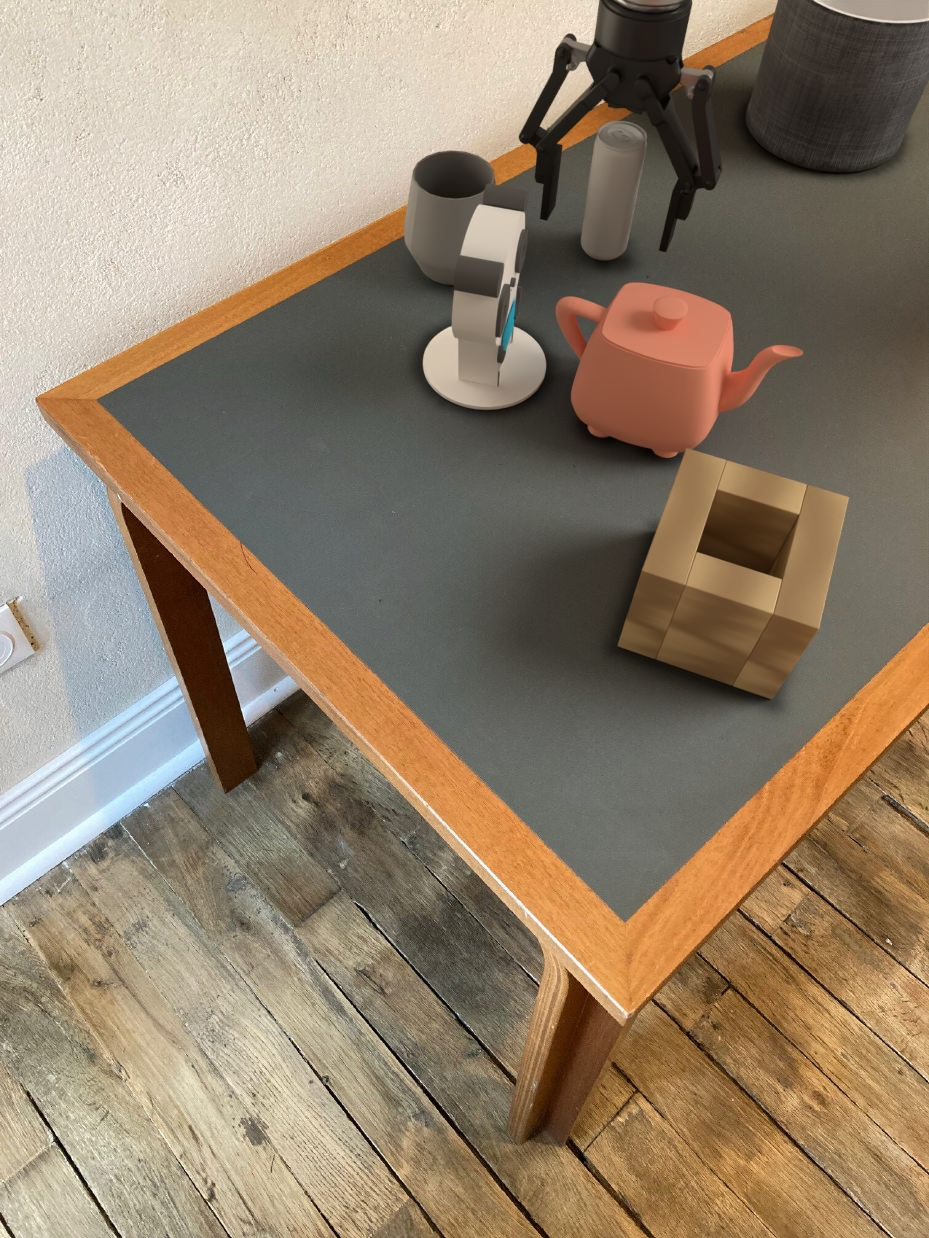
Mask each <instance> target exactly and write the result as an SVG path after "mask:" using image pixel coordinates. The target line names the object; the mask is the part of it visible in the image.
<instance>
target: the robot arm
mask: <svg viewBox="0 0 929 1238" xmlns="http://www.w3.org/2000/svg"><path fill="white" fill-rule="evenodd" d="M692 8H693V0H598V6H597V14H596V21H595V29H594V35H593V40H592V43H591V44H587V43H583V42H580V41H578V40H577V37H576V35H575V34H573V33H571V32H570V33H566V34H565V36H564V37H562V39H561V41H560V43H559V45H558V46H557V47H556V49H555V51H554V56H553V57H554V58H553V66H552V71H551V73H550V75H549V77H548V79H547V81H546V82H545V85H544V87H543V88H542V90H541V92H540V94H539V96H538V98H537V100H536V102H535V104H534V105H533V108H532V109H531V112H530V113H529V115H528V117H527V119H526V121H525V122H524V125H523V127H522V128H521V131H520V132H519V134H518V140H519V142H520V143H521V144H523V145H528V144H529V145H530V146H532V147H533V148H534V150H535V152H536V156H535V157H536V158H535V168H534V182H535V183H537V184H540V185H542V195H541V204H540V205H541V206H540V213H539V220H542V221H548V220H549V218H550V216H551V215H552V213H553V211H554V210H555V207H556V205H557V204H556V203H557V196H558V190H559V189H558V188H559V180H560V171H561V163H562V155H563V147H564V146H563V144H561V143H559V142H560V141H561V140H562V139H563V138H564V137H565V136H566V135H567V134H568V133H569V132H570V131H571V130H572V129H573V128H574V127H576V125H577V124H578V123H579V122H580V121H582V119H584V117H586V115H588V114H589V113H590V112H592V111H593V110H594V109H595V108H596V107H597V106H598V105H599V104H600V103H601V102H602V101H604V102H605V103H606V104H607V107H608V108H612V109H615V110H616V109H621V110H622V109H625V110H627V111H629V112H630V113H632V114H636V115H640V116H641V115H642V114H643V113H646V115H647V117H648V119H649V121H650V124H651V126H653V127H655V129H656V131H657V133H658V136H659V138H660V140H661V143H662V145H663V147H664V149H665V151H666V154H667V156H668V158H669V162H670V163H671V166H672V168H673V170H674V172H675V175H676V177H677V179H676V182H675V184H674V186H673V189H672V192H671V196H670V201H669V204H668V207H667V208H668V209H667V212H666V217H665V221H664V226H663V229H662V234H661V240H660V243H659V247H658V252H663V253H665V254H666V253H667V252H668V250H669V247H670V245H671V242H672V240H673V238H674V234H675V230H676V226H677V222H678V220H680V221H686V220H687V219H688V217H689V216H690V214H691V211H692V209H693V205H694V201H695V197H696V193H697V191H698V190H700V189H704V190H705V191H706V190H707V191H713V190H714V189H715V188H716V186H717V184H718V183H719V182H718V181H719V180H720V177H721V174H722V172H723V167H722V159H721V152H720V144H719V137H718V130H717V122H716V115H715V107H714V101H713V90H714V86H715V85H714V84H715V81H716V75H717V70H716V67H714V65H712V64H707V65H704V67H703V68H702V69H699V68H695V67H689V66H685V64H684V61H683V49H684V46H685V45H684V44H685V41H686V36H687V31H688V26H689V22H690V17H691V12H692ZM581 63H585V65H586V67H587V69H588V72H589V74H590V76H591V78H592V82H591V84H590V85H589V86H588V87H587V88H586V89H585V90H584V91H583V92H582V93H581V94H580V95H579V97H577V98H576V99H575V101H574V102H573V103H571V105H570V106H569V107H568V108H566V110H564V112H563V113H562V114H560V115H559V117H558V118H557V119H555V121H554V122H553V123H551V125H550V126H547V128H546V129H545V128H544V127H542V126H541V125H542V123H543V121H544V120H545V117H546V115H547V114H548V112H549V110H550V109H551V106H552V105H553V102H554V101H555V99H556V97H557V95H558V94H559V91H560V90H561V88H562V86H563V84H564V83H565V81H566V79H567V77H568V75H569V73H570V72H574V71H576V70H577V68H578V67H579V65H580V64H581ZM679 84H680V85H682V86H683V87H684V89H685V95H686V97H687V99H688V100H690V101H691V117H692V124H693V129H694V131H693V132H694V137H695V143H696V150H697V157H698V158H697V157H696V155H695V152H694V149H693V147H692V144H691V142H690V141H689V138H688V135H687V134H686V130H685V128H684V126H683V123H682V122H681V121H682V120H681V119H680V116H679V114H678V111H677V109H676V103H675V98H674V96H673V93H672V91H673V90H674V89H676V88H677V87H678V86H679ZM697 159H698V160H697Z"/></svg>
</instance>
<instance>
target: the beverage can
mask: <svg viewBox="0 0 929 1238" xmlns="http://www.w3.org/2000/svg"><path fill="white" fill-rule="evenodd" d="M647 139H648V135H647V132H646V131H645V130H644V129H643V128H642V127H641V126H639V125H638V124H635V123H633V122H630V121H626V120H613V121H608V122H606V123H604V124H602V125H601V126H599V128H598V130H597V132H596V135H595V138H594V144H593V150H592V157H591V163H590V164H591V165H590V170H589V178H588V183H587V184H588V185H587V191H586V199H585V206H584V212H583V213H584V214H583V221H582V228H581V236H580V245H581V248H582V249H583V251H584V253H585V254H586V255H587V256H589V257H590V258H592V259H594V260H597V261H611V260H615V259H617V258H619V257H620V256H622V255H623V254H624V253H625V252H626V250H627V248H628V244H629V240H630V239H629V238H630V234H631V229H632V224H633V220H634V213H635V208H636V203H637V198H638V193H639V188H640V183H641V178H642V173H643V168H644V163H645V159H646V153H647V149H648V147H647V145H648V143H647Z"/></svg>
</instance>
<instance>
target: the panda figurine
mask: <svg viewBox="0 0 929 1238" xmlns="http://www.w3.org/2000/svg"><path fill="white" fill-rule="evenodd" d="M529 191H530V190H528V189H522V188H516V187H511V186H507V185H499V184H496V185H494V184H488V183H487V184H486V187H485V190H484V195H483V205H481V204H479V205H478V206H477V208H476V210H475V212H474V214H473V216H472V219H471V221H470V224H469V226H468V229H467V232H466V236H465V239H464V242H463V246H462V250H461V254H460V255H459V256H458V259H457V263H456V268H455V274H454V285H453V298H452V310H451V326H448V327H446V328H445V329H443V330H442V331H440V332H438V333H437V334H436V335H435V336H434V337H433V338H432V339H431V340H430V341H429V342H428V344H427V345H426V347H425V350H424V353H423V356H422V357H423V358H422V369H423V373H424V376H425V379H426V381H427V382H428V384H429V385H430V387H431V388H432V389H433V391H435V392H436V393H437V394H438V395H439V396H440V397H442V398H444V399H445V400H447V401H449V402H451V403H453V404H455V405H458V406H460V407H463V408H467V409H473V410H482V411H489V410H491V411H492V410H501V409H506V408H510V407H513V406H516V405H518V404H521V403H522V402H524V401H526V400H527V399H529V398H530V397H531V396H533V395H534V394H535V393H536V392H537V391H538V390H539V388H540V387H541V385H542V384H543V382H544V379H545V377H546V371H547V360H546V356H545V353H544V351H543V348H542V347H541V346H540V344H539V343H538V342H537V340H535V338H533V337H532V335H530V334H529V333H527V332H526V331H525V330H522V329H521V328H519V327H516V326H514V325H515V321H516V320H517V318H518V314H519V310H520V305H521V300H522V295H523V294H522V291H523V289H522V288H523V287H522V286H519V285H518V284H519V280H520V275H521V272H522V270H523V267H524V263H525V258H526V253H527V249H528V248H527V247H528V236H529V233H528V232H529V231H528V229H526V212H527V209H528V204H529V196H530V193H529Z"/></svg>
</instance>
